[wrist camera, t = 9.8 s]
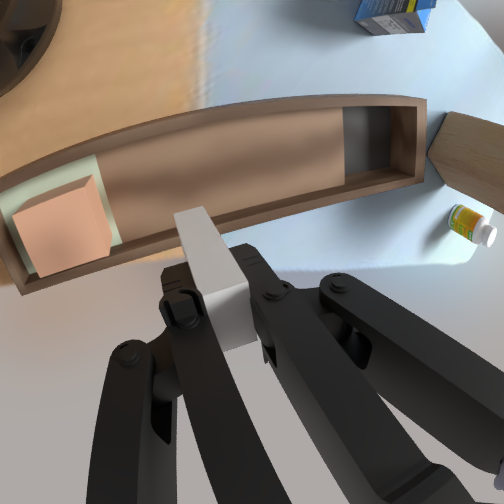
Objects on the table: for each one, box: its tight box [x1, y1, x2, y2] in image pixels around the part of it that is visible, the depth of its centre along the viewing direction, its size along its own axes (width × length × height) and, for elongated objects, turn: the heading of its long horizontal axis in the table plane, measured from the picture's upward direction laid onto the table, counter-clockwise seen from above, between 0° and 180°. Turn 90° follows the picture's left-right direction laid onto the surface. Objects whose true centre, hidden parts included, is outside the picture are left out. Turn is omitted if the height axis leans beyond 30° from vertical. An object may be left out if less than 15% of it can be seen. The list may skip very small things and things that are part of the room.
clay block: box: [12, 174, 112, 278], centre depth 21 cm, size 6×7×4 cm
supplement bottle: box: [448, 204, 497, 247], centre depth 44 cm, size 5×5×10 cm
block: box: [428, 111, 504, 214], centre depth 31 cm, size 10×10×20 cm
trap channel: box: [0, 94, 427, 296], centre depth 27 cm, size 11×48×5 cm, turn 98°
